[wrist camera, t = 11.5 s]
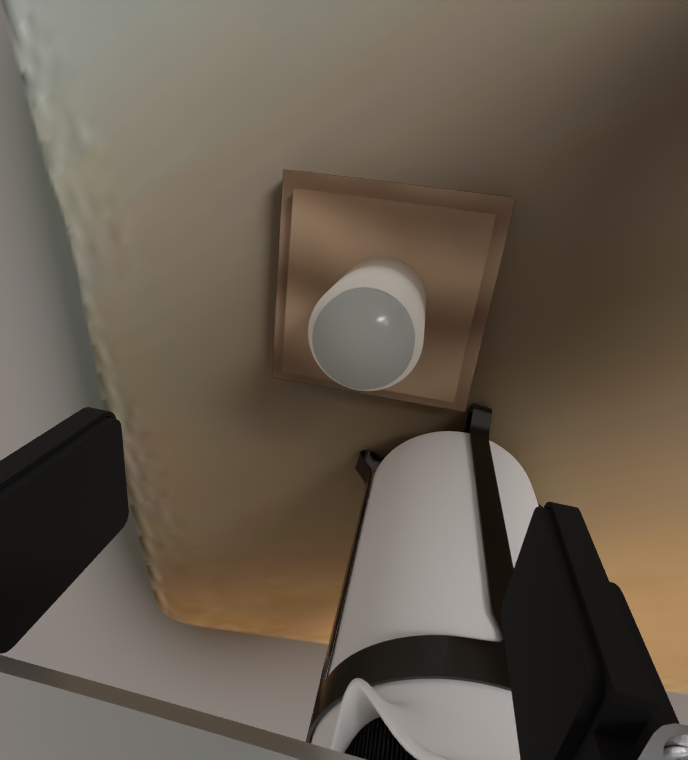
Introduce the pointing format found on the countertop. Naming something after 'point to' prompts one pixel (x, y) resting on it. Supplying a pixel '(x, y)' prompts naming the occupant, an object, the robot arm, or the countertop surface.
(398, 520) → the coffee press
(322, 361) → the canister
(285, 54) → the countertop surface
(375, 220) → the plinth
